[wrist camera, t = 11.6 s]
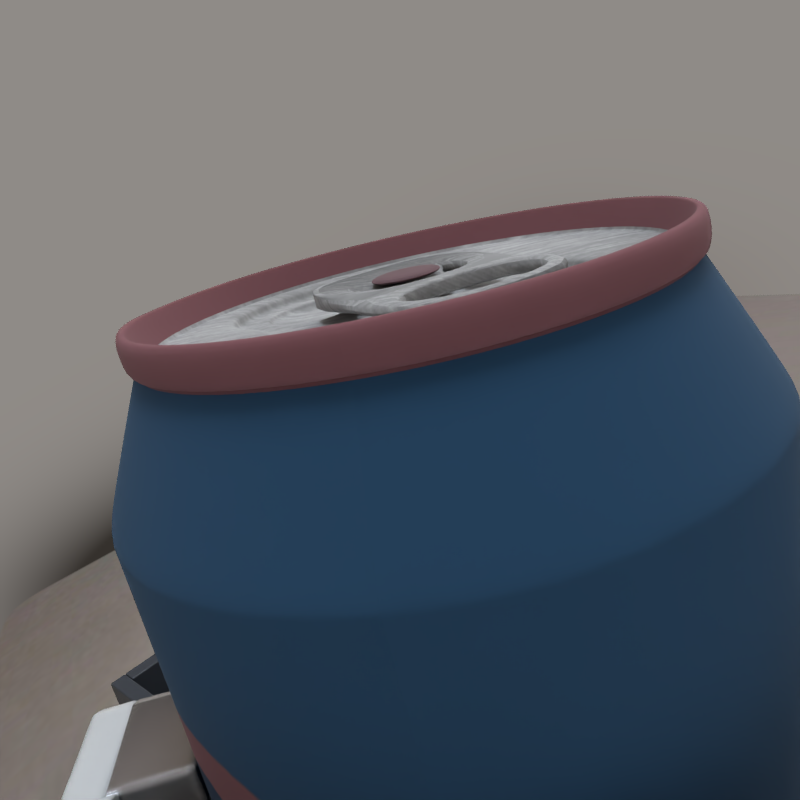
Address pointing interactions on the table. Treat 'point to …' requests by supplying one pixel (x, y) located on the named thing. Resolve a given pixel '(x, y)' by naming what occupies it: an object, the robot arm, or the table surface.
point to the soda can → (473, 517)
